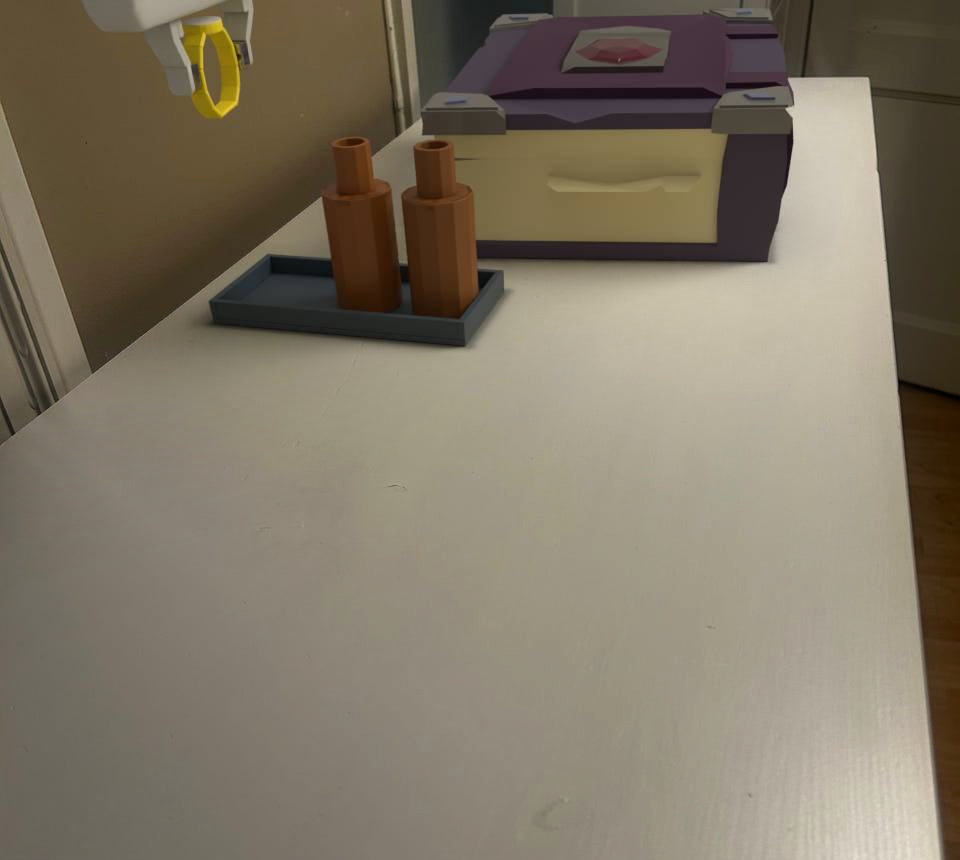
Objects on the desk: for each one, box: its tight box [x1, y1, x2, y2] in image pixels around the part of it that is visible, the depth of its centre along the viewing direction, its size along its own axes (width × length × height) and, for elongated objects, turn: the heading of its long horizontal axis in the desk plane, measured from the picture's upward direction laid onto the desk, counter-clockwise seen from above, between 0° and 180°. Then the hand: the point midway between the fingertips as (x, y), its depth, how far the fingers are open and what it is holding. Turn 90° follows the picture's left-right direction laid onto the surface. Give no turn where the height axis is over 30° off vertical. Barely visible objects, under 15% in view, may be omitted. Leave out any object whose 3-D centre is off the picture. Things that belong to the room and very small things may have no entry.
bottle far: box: [400, 139, 479, 319], centre depth 80 cm, size 6×6×14 cm
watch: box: [181, 15, 241, 120], centre depth 70 cm, size 6×3×6 cm, turn 167°
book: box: [420, 7, 795, 262], centre depth 103 cm, size 33×45×14 cm
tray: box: [208, 253, 505, 347], centre depth 86 cm, size 23×11×2 cm, turn 72°
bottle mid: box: [320, 136, 403, 313], centre depth 81 cm, size 6×6×14 cm
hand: (213, 80), depth 70 cm, fingers closed on watch, 6 cm apart
